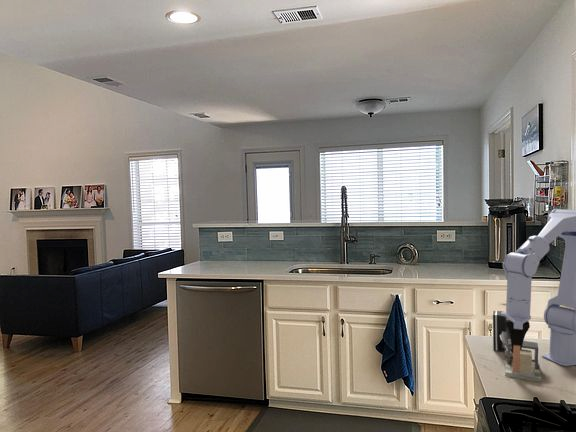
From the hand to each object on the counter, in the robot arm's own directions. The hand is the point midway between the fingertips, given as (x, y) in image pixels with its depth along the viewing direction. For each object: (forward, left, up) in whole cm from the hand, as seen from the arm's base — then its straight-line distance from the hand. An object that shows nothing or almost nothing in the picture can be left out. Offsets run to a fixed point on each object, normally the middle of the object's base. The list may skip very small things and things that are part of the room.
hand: (516, 348), depth 120 cm
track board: (-5, -3, -7) cm, 9 cm away
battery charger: (-11, -18, -8) cm, 22 cm away
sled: (-2, 0, -6) cm, 7 cm away
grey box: (-6, -4, -6) cm, 10 cm away
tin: (-16, -19, -8) cm, 26 cm away
